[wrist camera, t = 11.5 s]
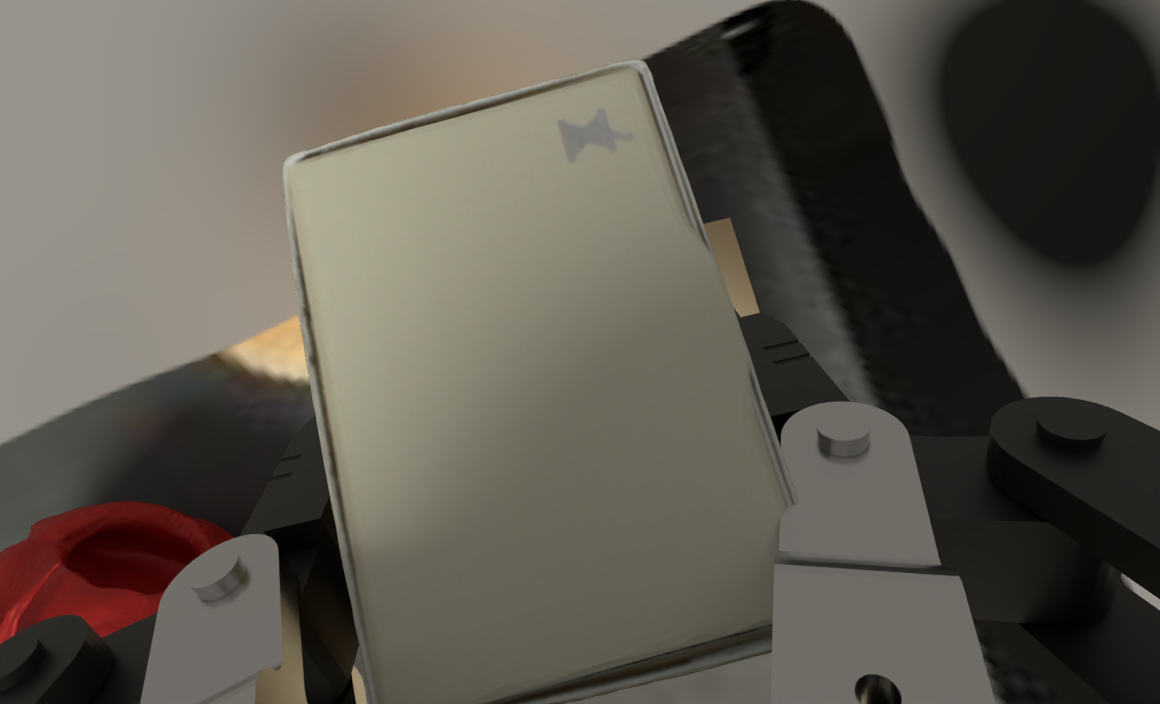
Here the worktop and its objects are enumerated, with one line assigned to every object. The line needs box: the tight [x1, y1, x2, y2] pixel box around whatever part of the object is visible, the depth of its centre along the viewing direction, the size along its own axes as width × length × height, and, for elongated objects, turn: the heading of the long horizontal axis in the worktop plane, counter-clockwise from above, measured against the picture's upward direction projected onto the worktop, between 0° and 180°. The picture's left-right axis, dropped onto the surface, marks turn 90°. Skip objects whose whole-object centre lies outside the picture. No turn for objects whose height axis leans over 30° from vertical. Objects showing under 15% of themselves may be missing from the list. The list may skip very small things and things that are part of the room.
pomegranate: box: [0, 501, 235, 644], centre depth 18 cm, size 10×10×9 cm
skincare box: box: [283, 58, 799, 704], centre depth 12 cm, size 6×4×12 cm
